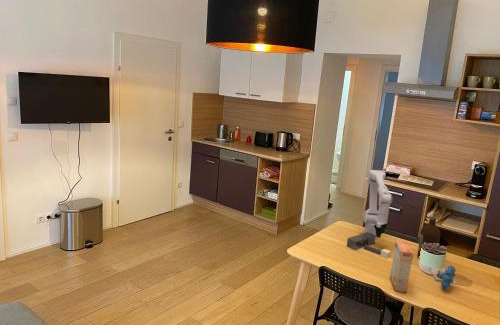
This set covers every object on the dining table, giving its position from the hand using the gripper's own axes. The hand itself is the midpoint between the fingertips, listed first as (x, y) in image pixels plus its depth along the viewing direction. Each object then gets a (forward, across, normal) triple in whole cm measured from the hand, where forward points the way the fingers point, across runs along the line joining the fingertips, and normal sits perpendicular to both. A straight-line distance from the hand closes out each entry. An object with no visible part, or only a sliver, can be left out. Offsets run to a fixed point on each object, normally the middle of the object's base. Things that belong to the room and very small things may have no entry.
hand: (379, 235), depth 227 cm
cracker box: (+9, +36, +20) cm, 42 cm away
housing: (+9, 0, -10) cm, 14 cm away
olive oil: (+9, -8, +26) cm, 29 cm away
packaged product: (+10, +9, +36) cm, 38 cm away
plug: (+9, +6, +1) cm, 11 cm away
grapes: (+9, +23, +39) cm, 46 cm away
